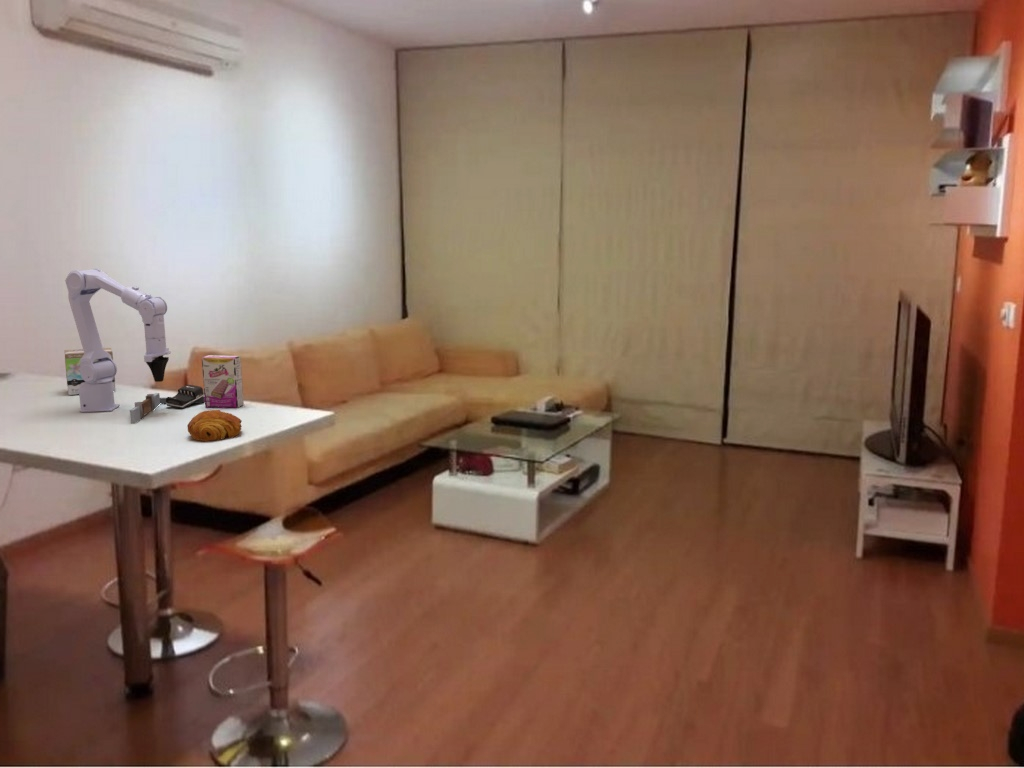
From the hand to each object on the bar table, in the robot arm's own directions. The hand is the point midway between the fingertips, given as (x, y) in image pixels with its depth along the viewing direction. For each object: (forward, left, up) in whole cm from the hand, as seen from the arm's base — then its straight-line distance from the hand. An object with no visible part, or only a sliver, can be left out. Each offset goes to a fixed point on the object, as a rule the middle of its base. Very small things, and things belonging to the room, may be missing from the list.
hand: (159, 381), depth 264 cm
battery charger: (+2, +6, -8) cm, 11 cm away
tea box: (-35, +39, -11) cm, 53 cm away
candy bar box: (+17, +8, -11) cm, 22 cm away
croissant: (+23, -29, -11) cm, 38 cm away
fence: (-5, 0, -10) cm, 11 cm away
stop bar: (+1, +15, -10) cm, 18 cm away
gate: (-5, 0, -10) cm, 11 cm away
